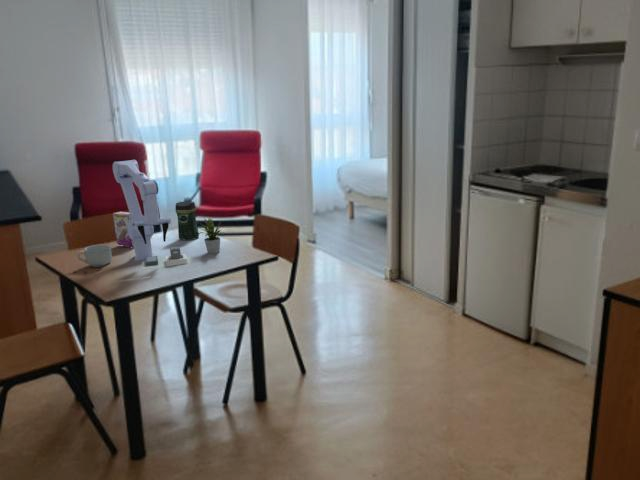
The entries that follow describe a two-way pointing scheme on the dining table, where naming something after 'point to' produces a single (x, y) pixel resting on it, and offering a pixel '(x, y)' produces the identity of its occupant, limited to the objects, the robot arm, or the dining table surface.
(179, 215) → the coffee jar
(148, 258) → the phone slab
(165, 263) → the outlet plate
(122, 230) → the candy bar box
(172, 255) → the plug
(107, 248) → the teacup
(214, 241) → the house plant
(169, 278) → the dining table surface
